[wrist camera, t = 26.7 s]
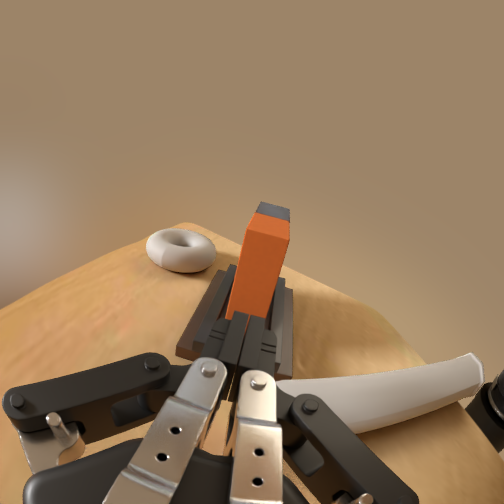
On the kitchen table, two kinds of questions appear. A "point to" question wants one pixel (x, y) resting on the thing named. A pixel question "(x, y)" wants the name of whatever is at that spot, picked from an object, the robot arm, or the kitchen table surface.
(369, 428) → the tube
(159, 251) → the donut
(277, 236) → the orange rectangular block
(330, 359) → the kitchen table surface
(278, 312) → the dark brown slotted holder
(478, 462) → the kitchen table surface
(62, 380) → the robot arm
